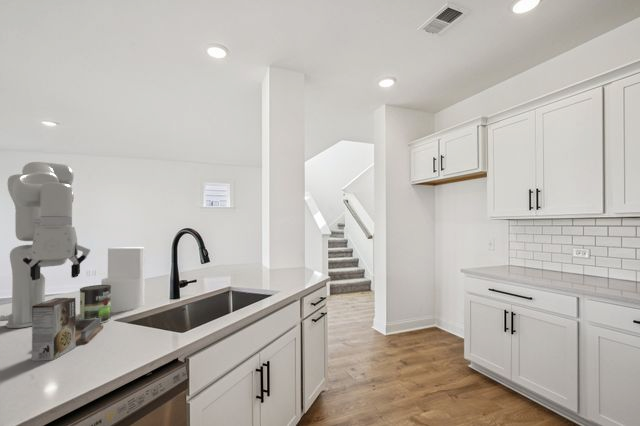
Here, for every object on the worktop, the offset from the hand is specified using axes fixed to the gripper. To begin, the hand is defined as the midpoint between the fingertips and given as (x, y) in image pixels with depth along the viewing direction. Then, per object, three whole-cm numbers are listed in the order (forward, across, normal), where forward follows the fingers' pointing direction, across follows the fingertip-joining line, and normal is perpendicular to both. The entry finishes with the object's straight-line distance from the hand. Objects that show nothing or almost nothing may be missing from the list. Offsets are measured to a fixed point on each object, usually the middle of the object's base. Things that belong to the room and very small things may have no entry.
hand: (55, 278), depth 93 cm
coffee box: (+23, 0, +1) cm, 23 cm away
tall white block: (+23, +6, +54) cm, 58 cm away
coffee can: (+23, +1, +33) cm, 40 cm away
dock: (+23, 0, +15) cm, 27 cm away
